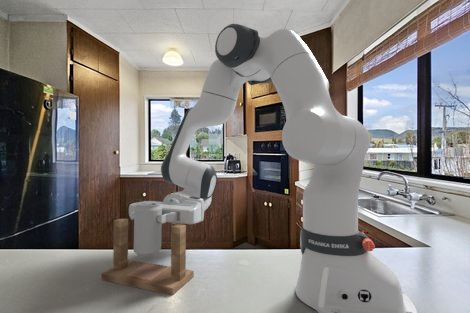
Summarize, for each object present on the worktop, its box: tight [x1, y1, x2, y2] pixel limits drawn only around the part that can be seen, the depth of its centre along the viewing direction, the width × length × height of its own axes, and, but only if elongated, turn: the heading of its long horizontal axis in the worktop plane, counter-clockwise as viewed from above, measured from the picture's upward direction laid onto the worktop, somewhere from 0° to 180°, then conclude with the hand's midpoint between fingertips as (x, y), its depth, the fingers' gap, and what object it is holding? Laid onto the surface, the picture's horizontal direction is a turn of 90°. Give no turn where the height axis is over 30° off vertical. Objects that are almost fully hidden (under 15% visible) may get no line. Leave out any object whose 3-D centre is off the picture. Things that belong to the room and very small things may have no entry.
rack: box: [101, 218, 195, 296], centre depth 62 cm, size 20×9×14 cm, turn 70°
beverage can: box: [133, 201, 163, 257], centre depth 62 cm, size 6×6×12 cm
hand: (145, 218), depth 61 cm, fingers closed on beverage can, 6 cm apart
